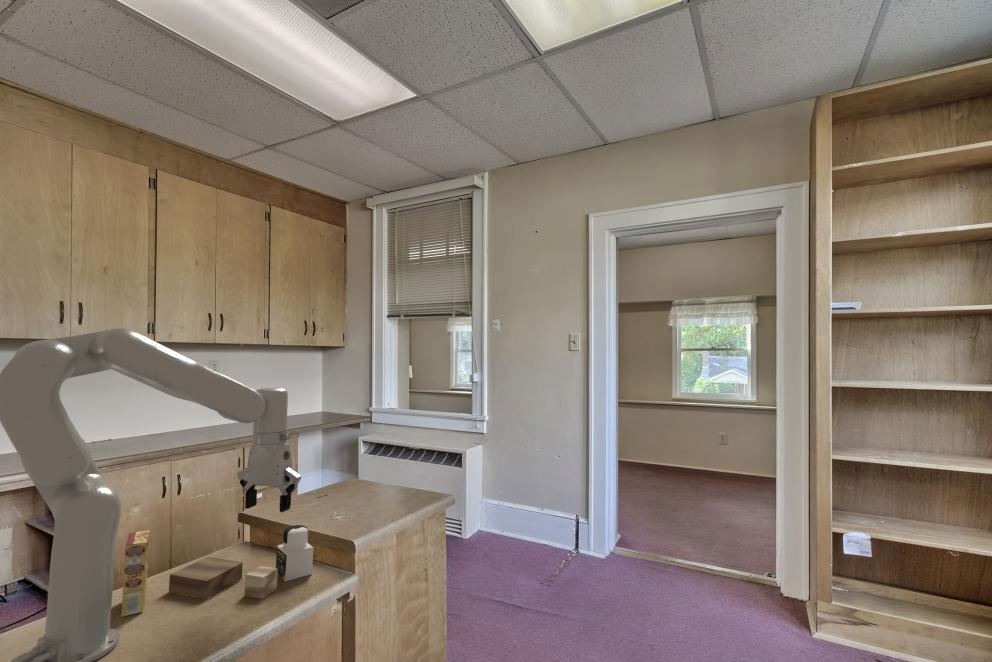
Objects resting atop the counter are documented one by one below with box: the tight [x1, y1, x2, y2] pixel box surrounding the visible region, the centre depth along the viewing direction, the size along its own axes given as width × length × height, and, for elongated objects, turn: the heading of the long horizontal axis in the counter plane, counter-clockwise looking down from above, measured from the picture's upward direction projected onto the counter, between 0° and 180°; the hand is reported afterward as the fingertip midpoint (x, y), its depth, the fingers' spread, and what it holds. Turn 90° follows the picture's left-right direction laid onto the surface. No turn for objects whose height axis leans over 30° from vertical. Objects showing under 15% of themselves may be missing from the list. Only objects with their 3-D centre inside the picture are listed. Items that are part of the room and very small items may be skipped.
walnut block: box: [168, 556, 244, 600], centre depth 120 cm, size 11×11×4 cm
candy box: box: [120, 529, 150, 617], centre depth 109 cm, size 9×4×15 cm, turn 33°
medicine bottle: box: [275, 524, 314, 582], centre depth 128 cm, size 7×7×12 cm
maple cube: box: [243, 565, 278, 600], centre depth 117 cm, size 5×5×5 cm
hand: (267, 508), depth 118 cm, fingers open, 9 cm apart
